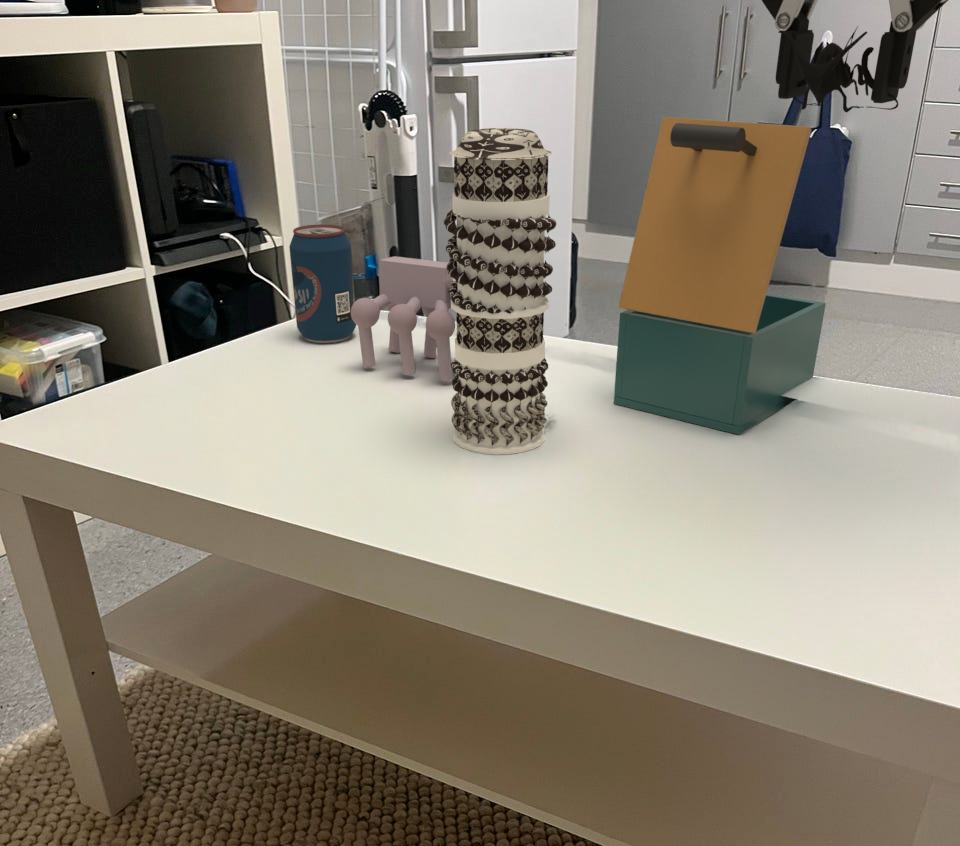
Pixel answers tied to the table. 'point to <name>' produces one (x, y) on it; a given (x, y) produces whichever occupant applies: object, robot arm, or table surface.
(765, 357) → the teal open box
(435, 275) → the pink pegged block
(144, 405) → the table surface
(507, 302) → the decorative candle
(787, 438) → the table surface
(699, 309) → the lid
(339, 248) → the soda can
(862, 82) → the creature
